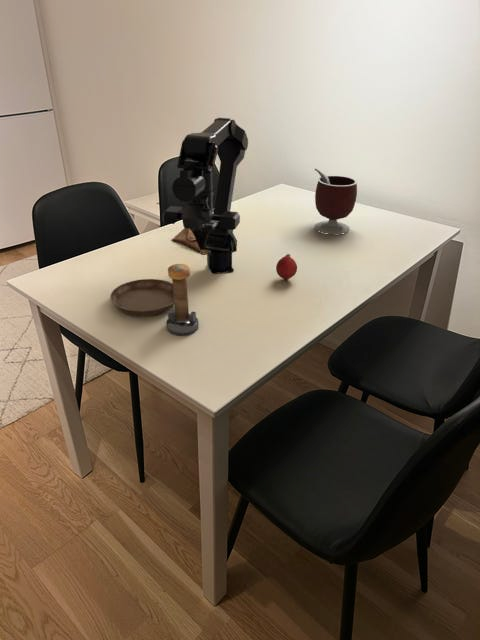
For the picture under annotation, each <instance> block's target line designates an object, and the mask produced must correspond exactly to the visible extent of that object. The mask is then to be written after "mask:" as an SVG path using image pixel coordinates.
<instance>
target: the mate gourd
mask: <svg viewBox="0 0 480 640" xmlns="http://www.w3.org/2000/svg"><path fill="white" fill-rule="evenodd" d="M314 171H315V172H317V173H318V175H319V176H320V177H319V178H318V180H317V181H318V182H317V184H316V187H315V195H314V199H315V200H314V202H315V209H316V210H317V211H318V213H319V215H321V217H323V218H326V219H328V220H325V221H324V220H323V221H319V222H316V223H315V225H314V230H315V229H316V230H318V231H320V232H323V233H328V234H342V233H346V232H348V231H349V232H350V230H351V229H350V228H351V227H350V226H349V225H347V224H346V223H343V222H340V221H338V220H342V219H344V218H345V219H346V218H348V216H349V215H350V214H351V213H352V212H353V210H354V207H355V205H356V201H357V194H358V186H357V183H358V182H357V180H356V179H355V178H352V177H349V176H345V175H334V174H333V175H326V173H325V172H324V171H322V170H320V169H319V168H317V167H316V168H314ZM349 229H350V230H349ZM316 230H315V231H316ZM318 231H317V232H318ZM320 232H319V233H320ZM349 232H348V233H349ZM323 233H322V234H323ZM346 234H347V233H346Z"/></svg>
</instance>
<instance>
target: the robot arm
mask: <svg viewBox="0 0 480 640" xmlns="http://www.w3.org/2000/svg"><path fill="white" fill-rule="evenodd" d="M181 142H182V143H181V147H180V150H179V156H178V162H177V165H176V168H177V169H181V170H179V176H178V177H176V178H175V179H174V181H173V183H172V187H171V190H172V193H173V195H174V197H175V198H176V199H177V200H178V201H180V202H183V203H186V205H185V207H184V206H177V205H175V206H174V205H170V206H169V207H167V209H165V211H163V212H162V223H163V224H169V225H171V224H172V225H174V224H176V223H177V222H178V220H182V227H183V229H184V228H187V229H190V230H191V231H192V232H193V234H194V236H195V238H196V241H197V243H198V246H199V248H200V250H203V249H204V250H209V253H207V255H206V260H207V261H206V266H207V268H208V269H209V270H210V272H211V273H212V274H213V275H214V274H222V273H230V272H231V273H232V272H234V271H235V270H234V268H233V253H235V252H237V251H238V249H237V248H238V247H237V246H238V240H237V238H236V236H235V234H234V230H236V229H237V228H238V226H239V224H240V222H241V215H240V214H239V212H238V211H232V210H231V209H232V201H233V196H234V190H235V189H234V187H235V182H236V174H237V170H238V169H237V168H238V165H240V163H241V162H242V161H243V159H244V158H245V154H246V151H247V150H248V146H249V137H248V134H247V133H246V131H245V129H244V128H242V127H240V126H239V125H238V124H237V123H236V120H235V119H233V118H228V117H227V118H226V117H217V118H215V119H214V121H213V122H212V123H211V124H210V125H209V126H207V128H205V129H204V130H203V131H202V132H193V133H189V134H187V135H186V136H185V137H184V139H183V140H182V141H181ZM217 157H218V158H219V162H220V163H219V164H220V165H219V171H218V176H217V177H218V179H217V186H216V191H215V198H214V206H213V196H214V191H213V167H214V166H215V163H216V160H217Z"/></svg>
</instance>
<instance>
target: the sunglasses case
mask: <svg viewBox="0 0 480 640" xmlns="http://www.w3.org/2000/svg"><path fill="white" fill-rule="evenodd" d="M170 241H171V242H175V243H178V244H180V245H183V246H185V247H187V248H189V249H192V250H194V251H196V252H198V253H200V254H202V255H203V256H205V255H206V256H207V253H209V250H204V249H203V250H200V248H199V246H198V243H197V241H196V238H195V236H194V234H193V232H192V231H191V230H190V229H187V228H184V227H183V229H181V231H179V232H178V233H177V234H176V235H175V236H174V237H173V238H172V239H170Z"/></svg>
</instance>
